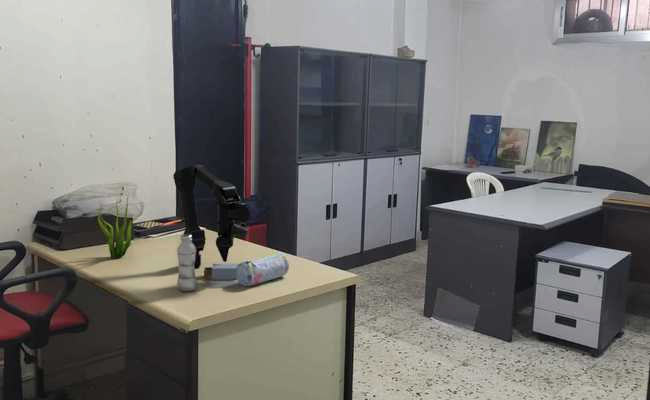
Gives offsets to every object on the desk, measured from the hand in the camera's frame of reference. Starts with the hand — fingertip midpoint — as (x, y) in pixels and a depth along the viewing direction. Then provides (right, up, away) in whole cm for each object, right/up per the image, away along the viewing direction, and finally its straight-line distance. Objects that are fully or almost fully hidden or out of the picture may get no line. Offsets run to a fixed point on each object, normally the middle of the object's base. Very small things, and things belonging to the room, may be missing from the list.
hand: (225, 258), depth 230 cm
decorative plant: (-48, -2, +26) cm, 54 cm away
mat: (+1, -9, -9) cm, 13 cm away
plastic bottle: (-11, -10, -17) cm, 22 cm away
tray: (0, -7, +1) cm, 7 cm away
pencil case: (+14, -8, -4) cm, 17 cm away
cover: (0, -7, +1) cm, 7 cm away
